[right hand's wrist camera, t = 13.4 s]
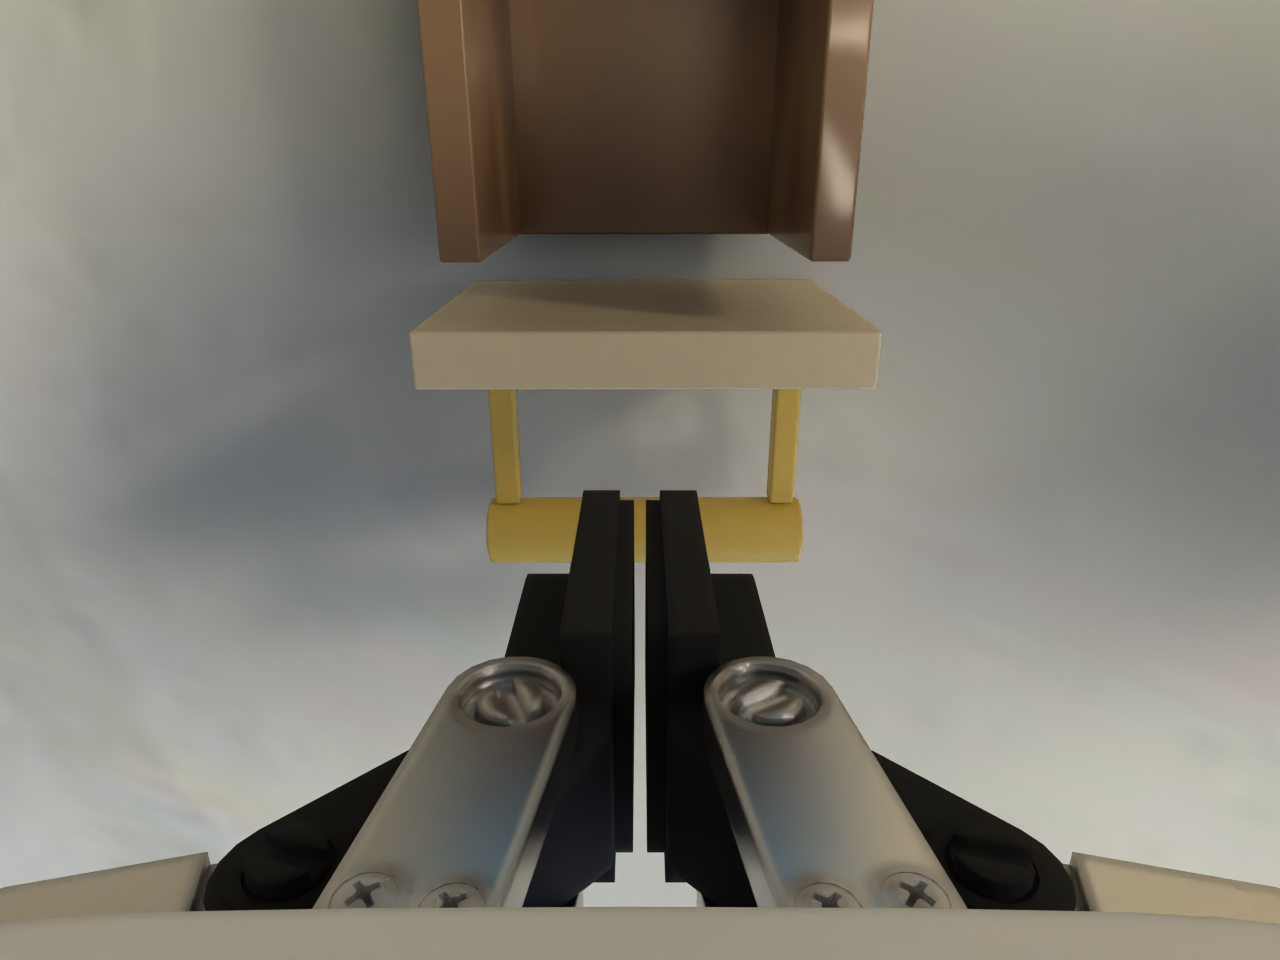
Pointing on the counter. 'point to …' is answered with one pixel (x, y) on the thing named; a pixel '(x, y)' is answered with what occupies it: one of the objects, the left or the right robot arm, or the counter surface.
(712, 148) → the drawer
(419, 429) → the counter surface
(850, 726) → the right robot arm
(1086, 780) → the counter surface
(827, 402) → the counter surface
